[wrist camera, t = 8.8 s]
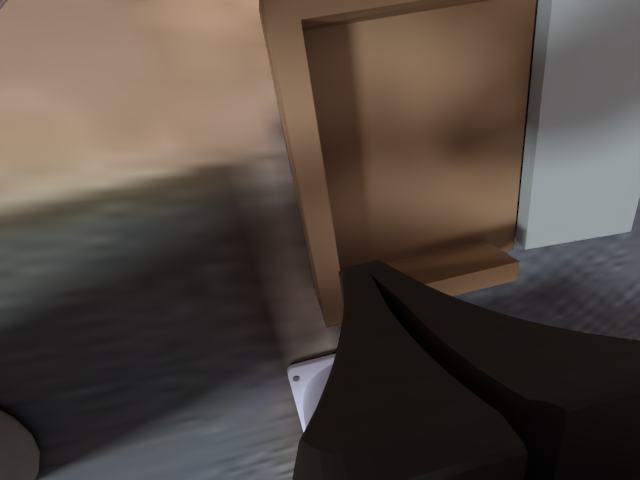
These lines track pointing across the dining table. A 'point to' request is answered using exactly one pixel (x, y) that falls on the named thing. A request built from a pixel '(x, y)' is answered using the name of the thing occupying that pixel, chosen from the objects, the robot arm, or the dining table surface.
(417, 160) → the brown shallow open box
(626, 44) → the cabinet door
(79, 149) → the dining table surface
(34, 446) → the canister
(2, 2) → the lucky cat figurine
